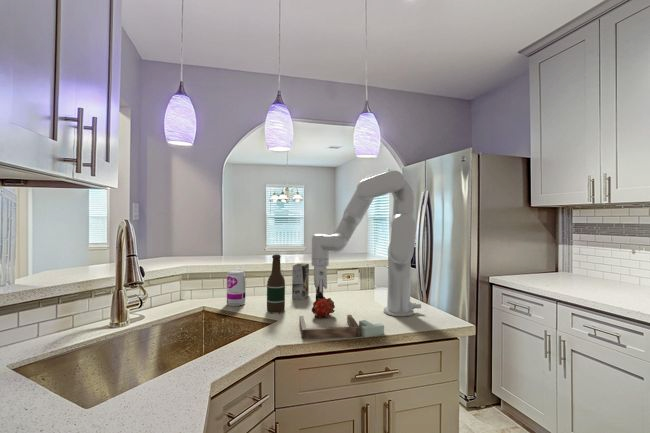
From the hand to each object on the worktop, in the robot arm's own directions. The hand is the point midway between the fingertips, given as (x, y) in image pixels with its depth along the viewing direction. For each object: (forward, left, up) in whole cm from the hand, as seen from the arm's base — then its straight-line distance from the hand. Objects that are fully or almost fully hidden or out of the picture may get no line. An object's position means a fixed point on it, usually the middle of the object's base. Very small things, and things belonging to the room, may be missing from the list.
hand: (319, 303), depth 156 cm
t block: (-14, +31, -2) cm, 34 cm away
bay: (0, +27, -2) cm, 27 cm away
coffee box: (+7, -21, -2) cm, 22 cm away
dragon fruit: (0, +12, -2) cm, 12 cm away
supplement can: (+37, -10, -2) cm, 38 cm away
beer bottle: (+19, +2, -2) cm, 19 cm away
